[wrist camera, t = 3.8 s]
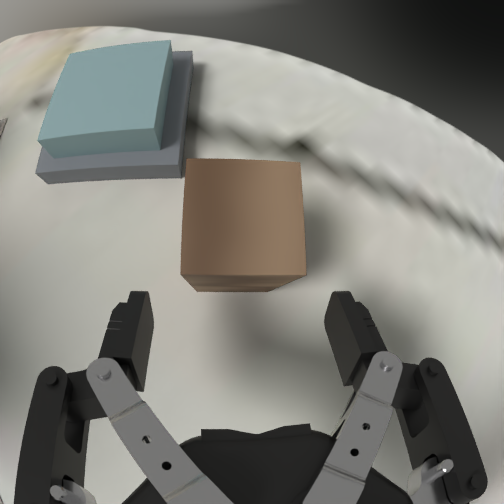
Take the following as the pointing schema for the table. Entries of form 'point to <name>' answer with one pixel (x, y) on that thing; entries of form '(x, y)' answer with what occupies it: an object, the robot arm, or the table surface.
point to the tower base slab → (135, 162)
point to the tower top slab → (109, 101)
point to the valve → (0, 127)
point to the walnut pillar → (242, 225)
